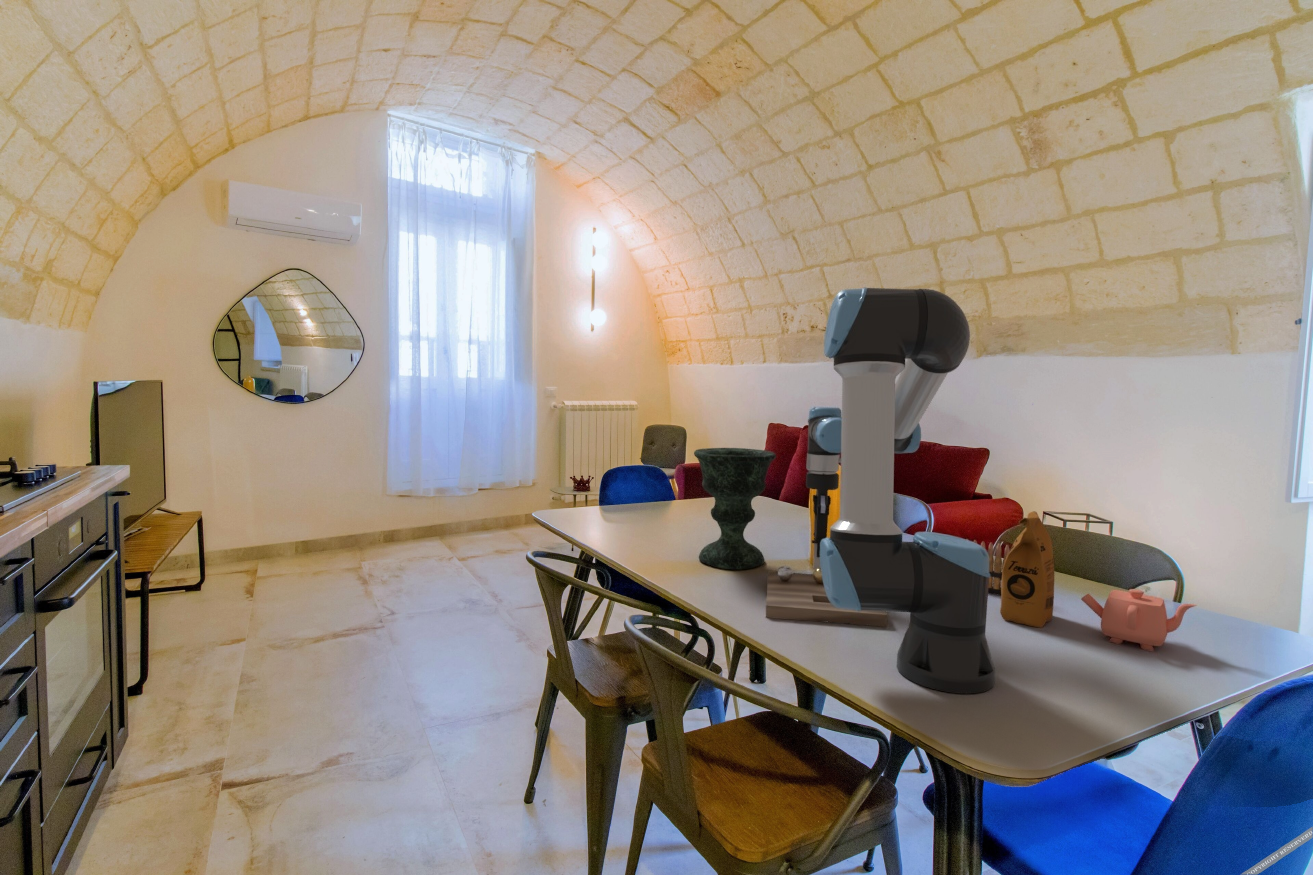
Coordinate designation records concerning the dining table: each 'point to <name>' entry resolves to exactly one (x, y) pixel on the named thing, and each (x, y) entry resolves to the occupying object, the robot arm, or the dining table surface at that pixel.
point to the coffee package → (1029, 576)
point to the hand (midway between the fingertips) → (818, 569)
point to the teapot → (1136, 617)
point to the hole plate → (811, 603)
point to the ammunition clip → (995, 567)
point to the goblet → (733, 502)
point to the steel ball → (785, 573)
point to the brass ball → (818, 575)
